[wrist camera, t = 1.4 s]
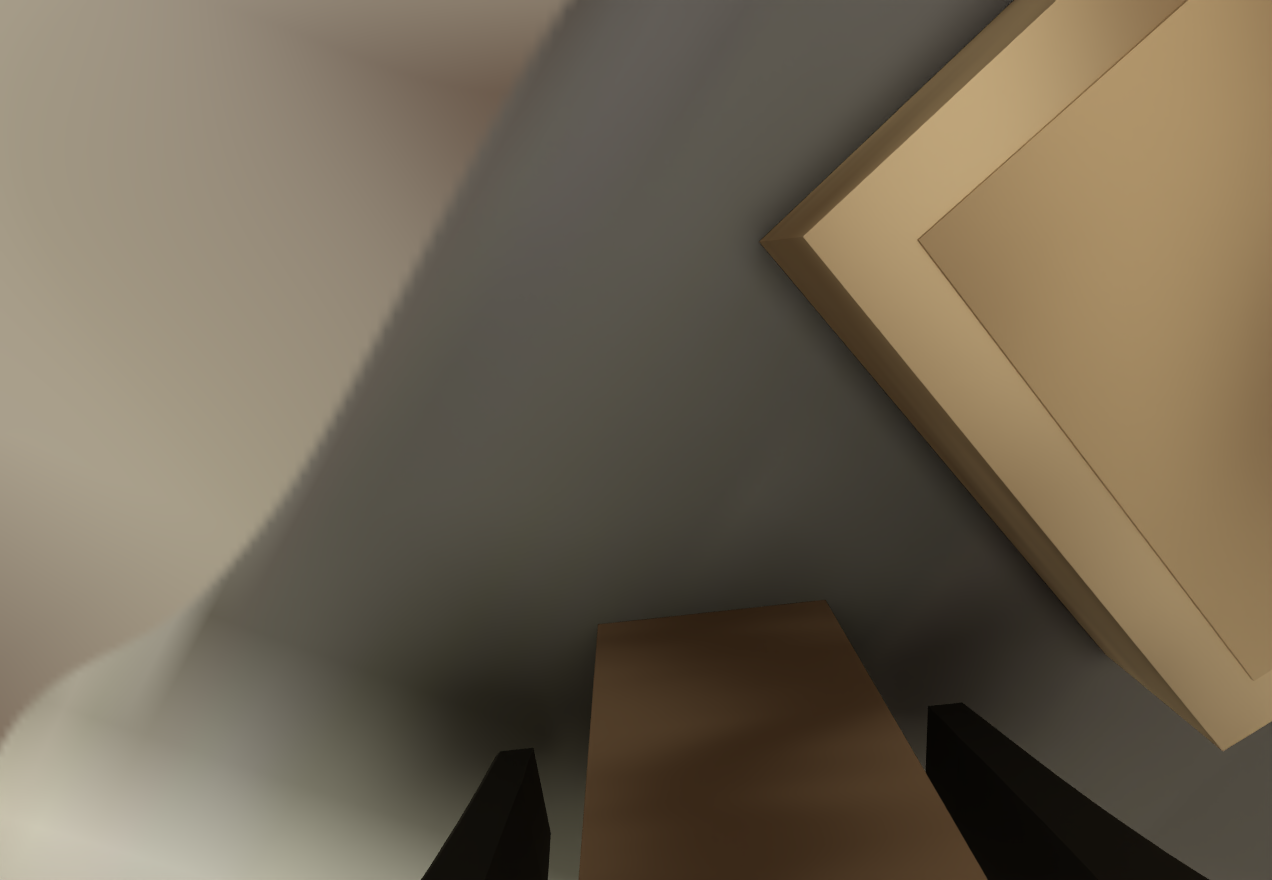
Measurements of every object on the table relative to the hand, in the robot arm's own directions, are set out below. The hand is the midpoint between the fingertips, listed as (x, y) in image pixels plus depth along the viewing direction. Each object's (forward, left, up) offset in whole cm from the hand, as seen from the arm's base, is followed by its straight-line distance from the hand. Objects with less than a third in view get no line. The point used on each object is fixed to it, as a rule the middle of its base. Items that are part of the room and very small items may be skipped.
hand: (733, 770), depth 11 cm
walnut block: (0, 0, -2) cm, 2 cm away
